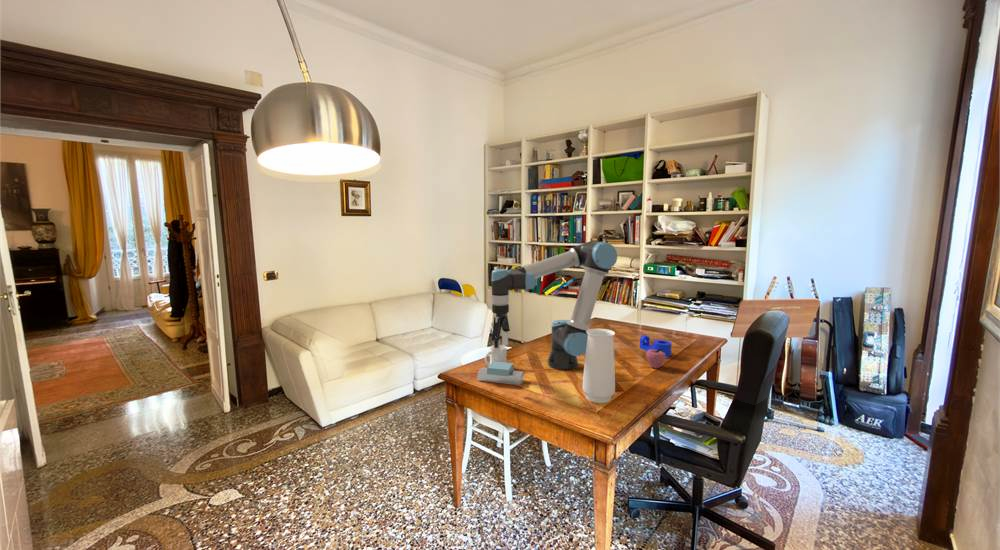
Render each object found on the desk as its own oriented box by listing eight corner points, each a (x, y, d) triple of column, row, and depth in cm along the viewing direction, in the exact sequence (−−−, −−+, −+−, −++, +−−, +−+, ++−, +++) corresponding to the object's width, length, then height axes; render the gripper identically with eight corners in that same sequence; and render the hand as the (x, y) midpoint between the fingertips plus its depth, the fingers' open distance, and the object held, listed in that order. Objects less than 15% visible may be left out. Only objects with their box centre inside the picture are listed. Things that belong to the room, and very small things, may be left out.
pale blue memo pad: (513, 376, 186) (513, 363, 185) (508, 384, 178) (508, 370, 177) (492, 374, 189) (492, 361, 188) (487, 381, 180) (487, 367, 180)
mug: (488, 372, 193) (488, 352, 191) (480, 367, 200) (480, 347, 198) (509, 367, 199) (509, 347, 198) (500, 362, 206) (500, 343, 205)
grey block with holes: (523, 379, 184) (523, 371, 183) (520, 385, 178) (520, 376, 177) (482, 375, 189) (482, 367, 189) (477, 380, 183) (477, 372, 183)
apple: (658, 363, 205) (659, 344, 203) (669, 369, 196) (670, 350, 195) (641, 365, 203) (642, 346, 201) (652, 371, 194) (653, 351, 193)
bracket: (674, 357, 215) (675, 343, 214) (661, 359, 211) (662, 345, 210) (649, 347, 233) (649, 334, 232) (636, 348, 230) (637, 335, 229)
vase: (619, 404, 159) (622, 336, 155) (587, 405, 158) (589, 337, 154) (608, 390, 172) (610, 327, 168) (578, 391, 171) (580, 328, 167)
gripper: (500, 298, 192) (500, 341, 194) (483, 309, 168) (484, 358, 171) (515, 298, 190) (515, 342, 192) (500, 310, 166) (501, 359, 169)
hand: (501, 349), depth 182 cm, fingers open, 13 cm apart
